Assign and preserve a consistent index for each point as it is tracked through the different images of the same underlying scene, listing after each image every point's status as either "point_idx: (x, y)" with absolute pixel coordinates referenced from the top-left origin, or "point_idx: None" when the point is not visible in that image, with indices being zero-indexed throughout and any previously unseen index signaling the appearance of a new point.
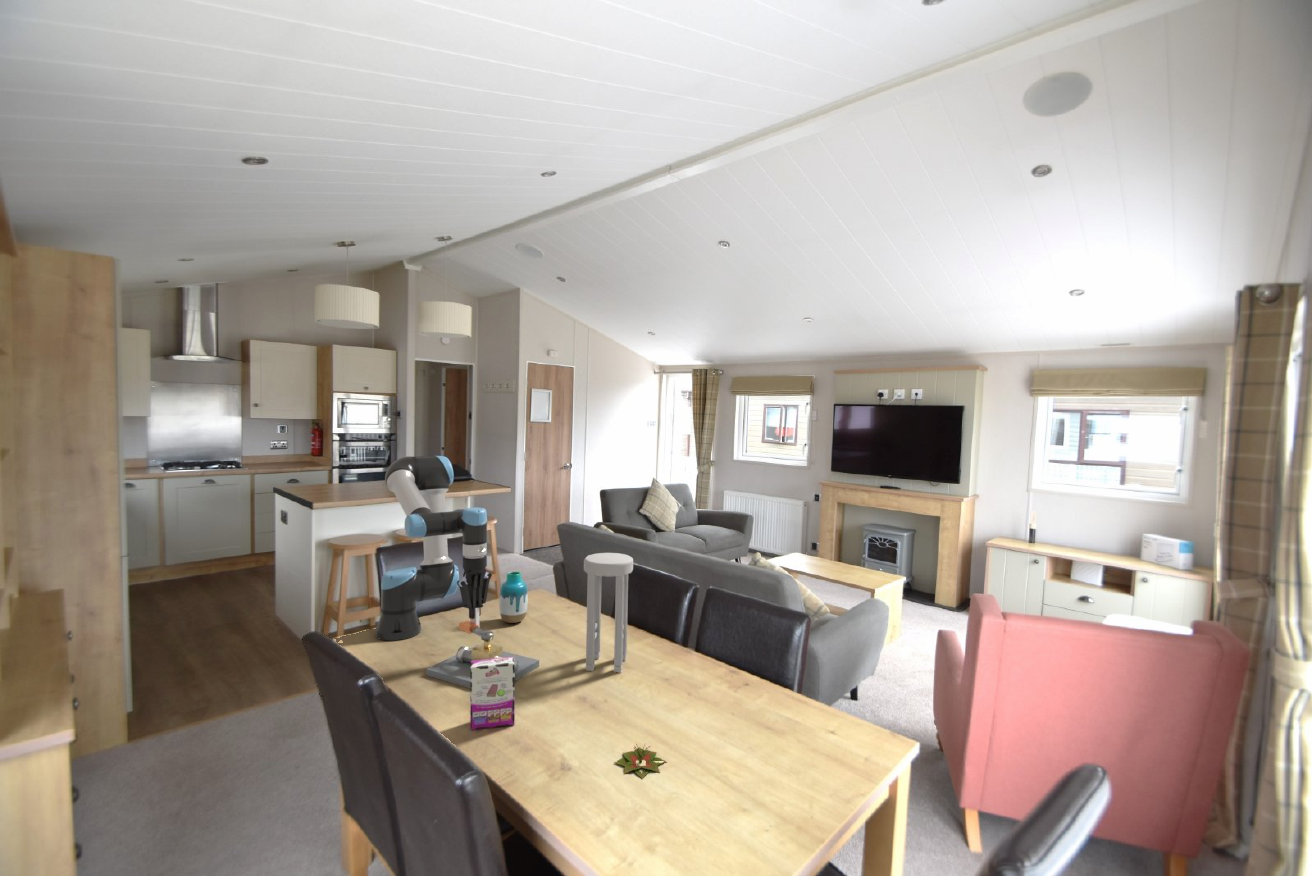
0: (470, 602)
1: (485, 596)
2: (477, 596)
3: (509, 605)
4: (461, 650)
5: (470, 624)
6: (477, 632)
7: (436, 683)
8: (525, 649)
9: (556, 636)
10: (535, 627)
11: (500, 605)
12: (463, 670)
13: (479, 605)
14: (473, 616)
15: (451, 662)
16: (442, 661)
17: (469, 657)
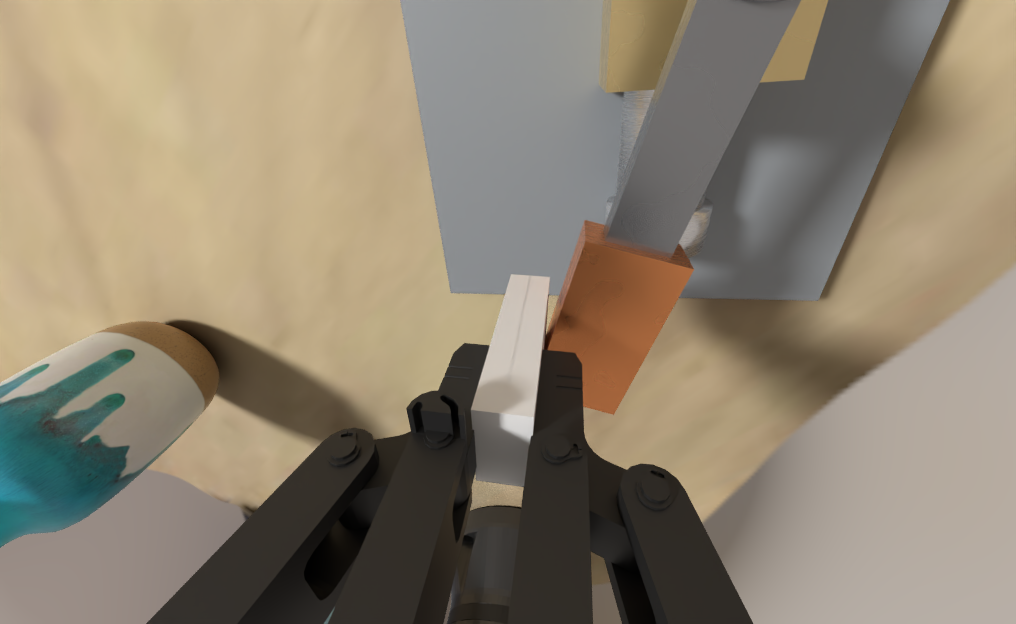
0: (663, 577)
1: (272, 531)
2: (423, 621)
3: (134, 399)
4: (698, 228)
5: (600, 325)
6: (735, 123)
7: (900, 167)
8: (276, 67)
9: (42, 45)
10: (121, 238)
11: (175, 432)
12: (790, 94)
13: (456, 439)
14: (558, 367)
15: None
16: (701, 296)
17: None
